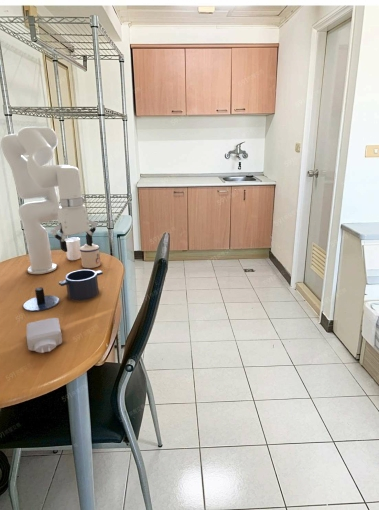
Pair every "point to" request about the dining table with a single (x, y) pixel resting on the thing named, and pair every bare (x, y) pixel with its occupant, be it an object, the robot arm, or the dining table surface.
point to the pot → (81, 284)
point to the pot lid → (40, 301)
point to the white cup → (73, 248)
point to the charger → (43, 335)
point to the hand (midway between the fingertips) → (77, 248)
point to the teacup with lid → (90, 256)
